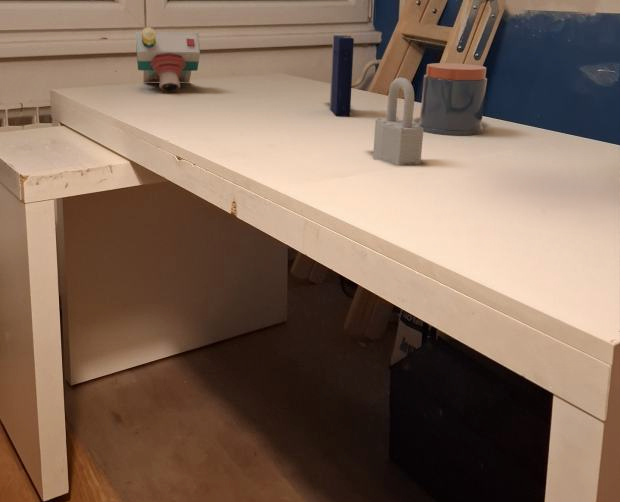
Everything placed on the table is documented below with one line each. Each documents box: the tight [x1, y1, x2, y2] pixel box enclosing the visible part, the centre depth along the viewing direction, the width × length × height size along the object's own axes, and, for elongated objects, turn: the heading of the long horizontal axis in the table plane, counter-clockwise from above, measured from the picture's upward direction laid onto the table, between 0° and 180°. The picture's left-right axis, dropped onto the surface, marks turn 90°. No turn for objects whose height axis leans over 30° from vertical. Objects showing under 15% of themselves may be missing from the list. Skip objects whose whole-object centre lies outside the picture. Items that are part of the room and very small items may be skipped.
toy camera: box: [135, 26, 201, 92], centre depth 143 cm, size 11×9×20 cm
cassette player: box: [329, 34, 355, 117], centre depth 123 cm, size 7×2×12 cm, turn 7°
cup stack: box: [417, 62, 488, 136], centre depth 112 cm, size 10×10×9 cm
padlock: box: [372, 77, 425, 166], centre depth 88 cm, size 7×4×10 cm, turn 20°
